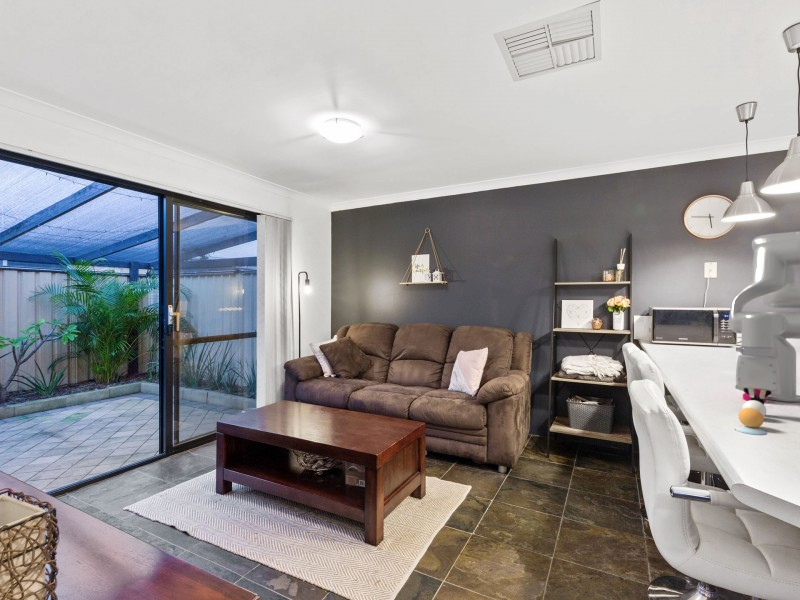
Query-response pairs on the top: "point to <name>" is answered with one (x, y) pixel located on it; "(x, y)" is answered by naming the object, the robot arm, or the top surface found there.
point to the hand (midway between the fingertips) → (757, 410)
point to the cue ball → (755, 406)
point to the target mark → (752, 431)
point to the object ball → (751, 417)
